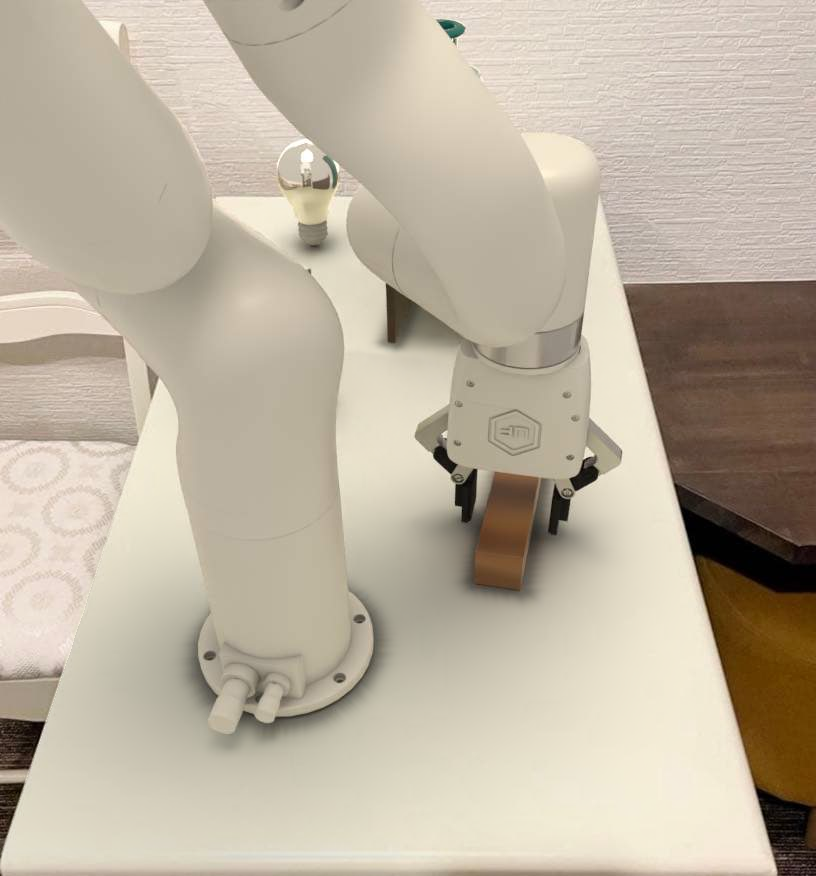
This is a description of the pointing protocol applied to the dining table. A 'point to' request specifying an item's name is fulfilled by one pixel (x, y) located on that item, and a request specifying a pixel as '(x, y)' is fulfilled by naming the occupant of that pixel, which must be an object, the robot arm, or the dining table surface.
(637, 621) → the dining table surface
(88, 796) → the dining table surface
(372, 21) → the robot arm
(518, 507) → the brown wooden bar
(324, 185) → the light bulb
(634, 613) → the dining table surface
